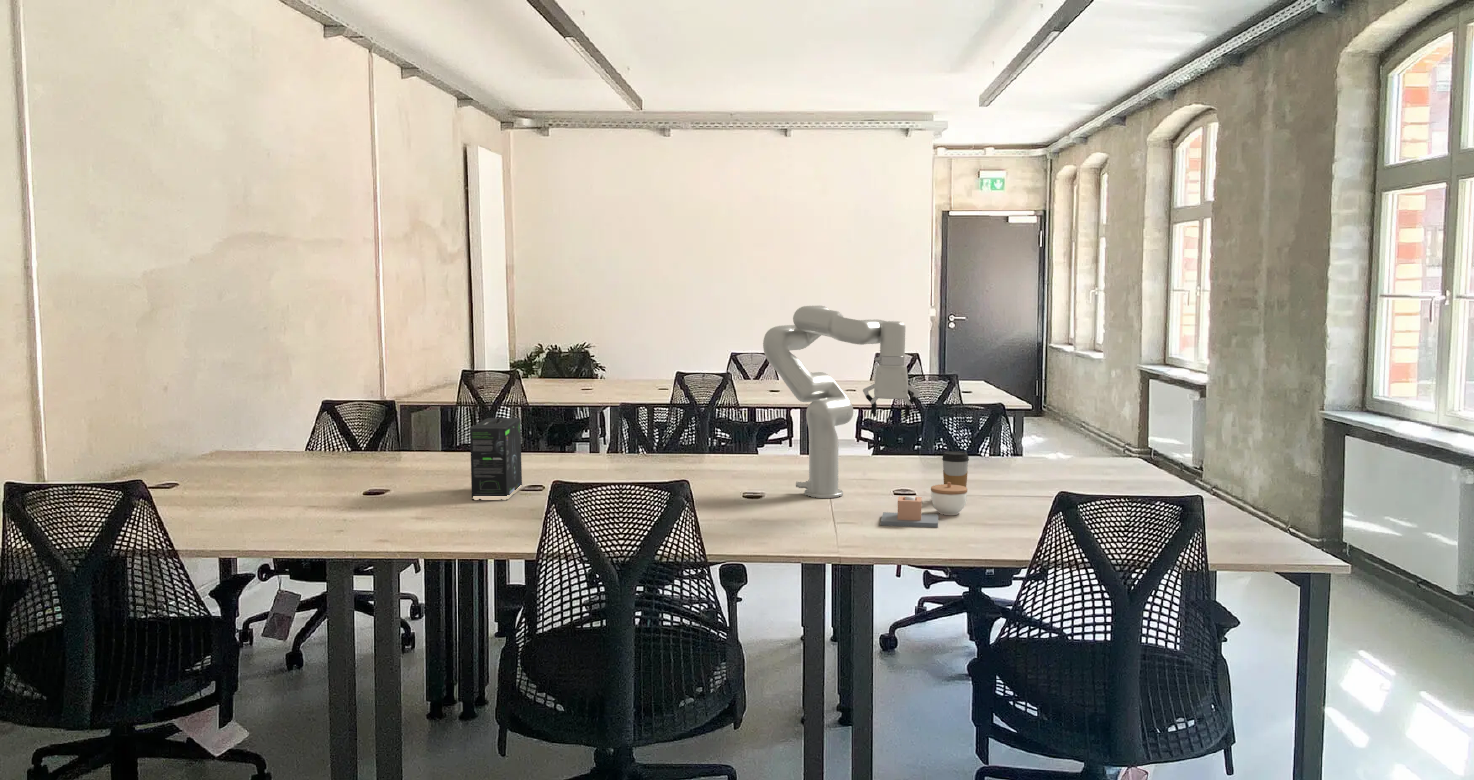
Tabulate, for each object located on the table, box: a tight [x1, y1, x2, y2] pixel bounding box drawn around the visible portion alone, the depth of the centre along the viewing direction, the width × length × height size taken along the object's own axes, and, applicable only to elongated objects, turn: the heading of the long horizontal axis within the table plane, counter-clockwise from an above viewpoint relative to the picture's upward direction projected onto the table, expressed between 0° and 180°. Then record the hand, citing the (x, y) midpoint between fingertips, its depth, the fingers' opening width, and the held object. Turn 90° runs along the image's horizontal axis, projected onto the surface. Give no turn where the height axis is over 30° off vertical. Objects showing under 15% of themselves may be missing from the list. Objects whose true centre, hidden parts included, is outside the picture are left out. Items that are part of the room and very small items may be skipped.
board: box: [880, 495, 939, 528], centre depth 305 cm, size 16×12×7 cm
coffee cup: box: [941, 450, 970, 488], centre depth 336 cm, size 8×8×15 cm
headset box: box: [469, 415, 523, 497], centre depth 347 cm, size 22×12×26 cm, turn 179°
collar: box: [897, 495, 923, 521], centre depth 304 cm, size 7×7×6 cm
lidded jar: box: [930, 482, 968, 516], centre depth 316 cm, size 11×11×9 cm
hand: (890, 417), depth 325 cm, fingers open, 9 cm apart
